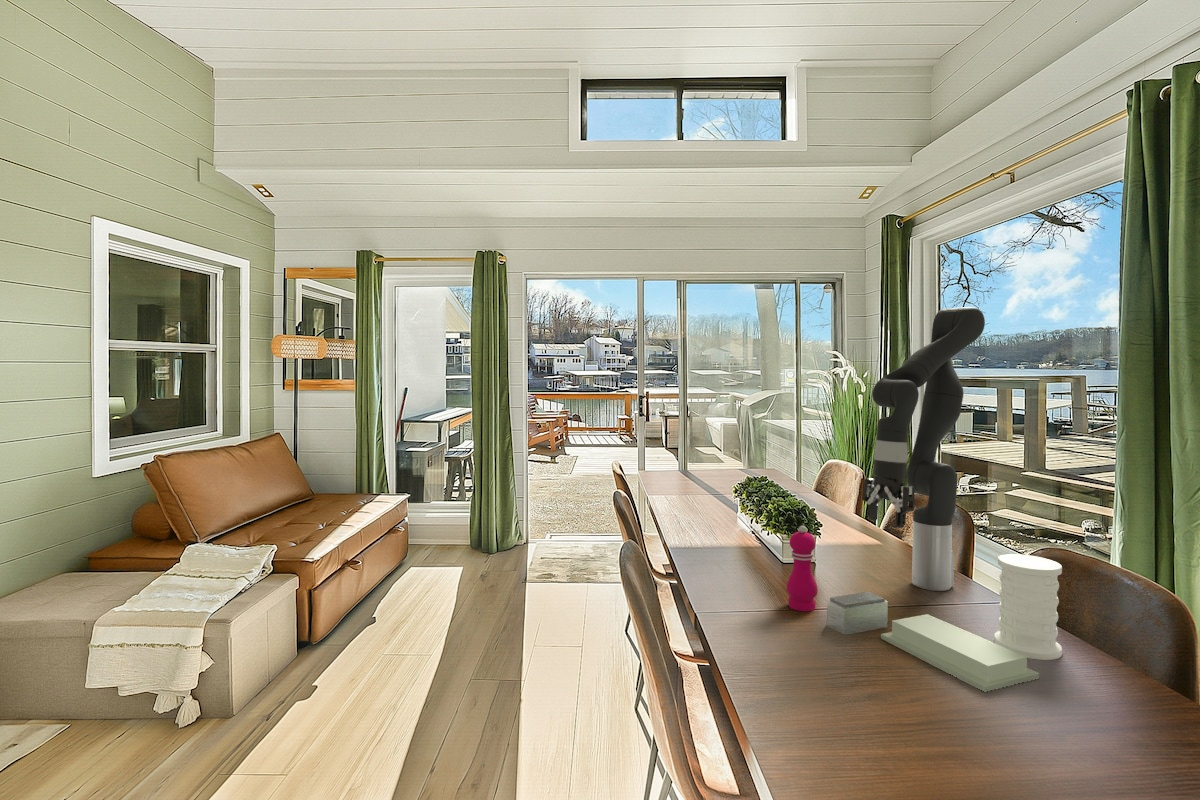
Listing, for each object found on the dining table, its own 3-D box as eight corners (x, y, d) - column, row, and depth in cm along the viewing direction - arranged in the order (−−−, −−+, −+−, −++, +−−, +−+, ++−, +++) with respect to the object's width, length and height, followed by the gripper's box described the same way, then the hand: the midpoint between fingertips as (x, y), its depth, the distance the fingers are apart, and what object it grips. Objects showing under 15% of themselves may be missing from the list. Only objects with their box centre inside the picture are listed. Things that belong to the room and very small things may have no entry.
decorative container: (1050, 639, 132) (1052, 556, 131) (1071, 663, 121) (1073, 573, 120) (987, 632, 135) (989, 551, 135) (1002, 655, 124) (1004, 567, 124)
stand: (930, 628, 137) (930, 611, 137) (1039, 678, 115) (1039, 657, 115) (880, 638, 132) (881, 620, 132) (984, 692, 110) (985, 670, 110)
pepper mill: (819, 613, 147) (820, 530, 146) (787, 611, 148) (788, 528, 147) (815, 602, 154) (816, 522, 153) (785, 600, 155) (785, 521, 154)
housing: (868, 618, 144) (869, 590, 143) (887, 627, 138) (887, 598, 138) (826, 626, 140) (827, 597, 139) (844, 635, 134) (844, 605, 134)
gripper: (925, 463, 149) (920, 529, 149) (880, 456, 163) (875, 517, 163) (901, 462, 147) (896, 530, 147) (857, 455, 160) (853, 517, 160)
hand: (885, 523), depth 155 cm, fingers open, 8 cm apart
